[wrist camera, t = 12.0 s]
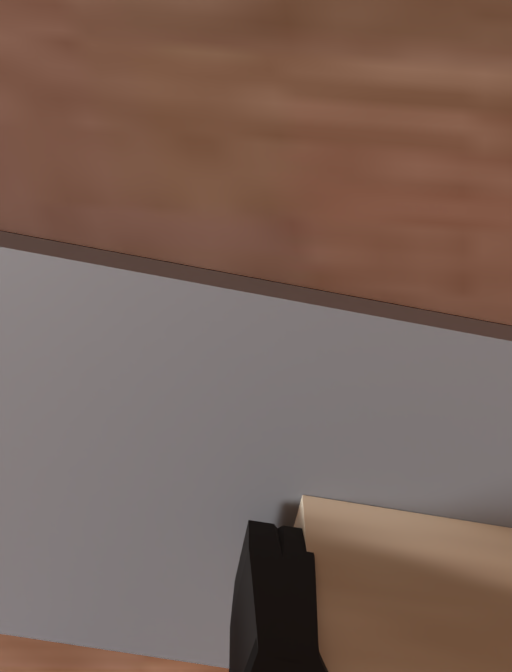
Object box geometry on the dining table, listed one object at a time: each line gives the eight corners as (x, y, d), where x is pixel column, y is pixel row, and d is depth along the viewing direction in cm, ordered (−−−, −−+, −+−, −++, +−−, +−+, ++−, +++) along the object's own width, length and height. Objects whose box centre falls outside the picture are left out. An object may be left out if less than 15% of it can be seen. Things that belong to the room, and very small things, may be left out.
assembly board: (745, 715, 16) (773, 750, 15) (-321, 551, 15) (-360, 578, 14) (1051, 426, 11) (1118, 453, 10) (-506, 136, 10) (-586, 138, 9)
